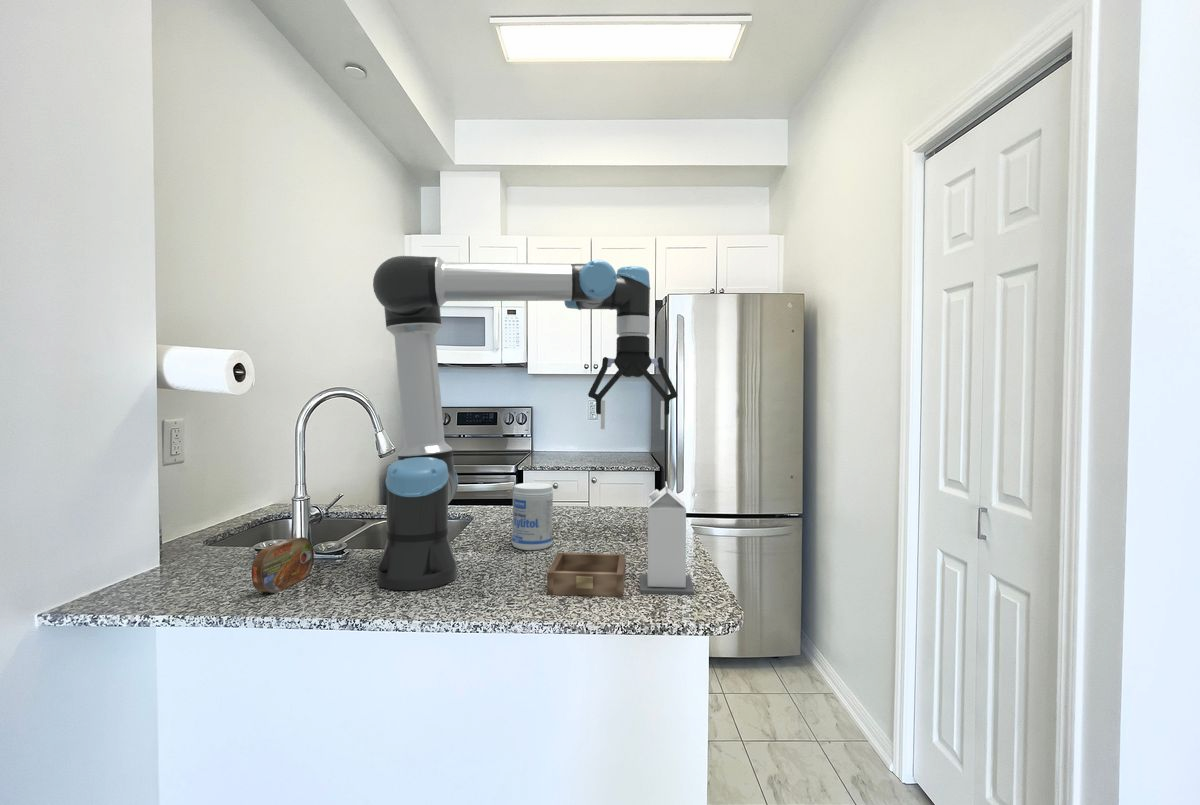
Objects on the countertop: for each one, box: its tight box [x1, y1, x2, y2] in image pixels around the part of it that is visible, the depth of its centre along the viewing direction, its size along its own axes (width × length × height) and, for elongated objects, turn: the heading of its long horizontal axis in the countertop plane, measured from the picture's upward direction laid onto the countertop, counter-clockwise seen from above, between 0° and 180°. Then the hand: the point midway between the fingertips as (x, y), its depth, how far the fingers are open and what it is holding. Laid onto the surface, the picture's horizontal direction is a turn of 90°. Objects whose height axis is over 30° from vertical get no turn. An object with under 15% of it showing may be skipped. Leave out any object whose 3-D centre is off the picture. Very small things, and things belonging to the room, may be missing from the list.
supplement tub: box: [511, 482, 554, 551], centre depth 146 cm, size 10×10×15 cm
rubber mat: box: [639, 573, 695, 596], centre depth 117 cm, size 10×10×1 cm
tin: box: [251, 536, 315, 594], centre depth 116 cm, size 15×3×8 cm, turn 171°
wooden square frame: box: [546, 552, 627, 598], centre depth 117 cm, size 14×15×4 cm
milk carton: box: [646, 481, 687, 588], centre depth 116 cm, size 7×7×19 cm
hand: (632, 429), depth 139 cm, fingers open, 13 cm apart
